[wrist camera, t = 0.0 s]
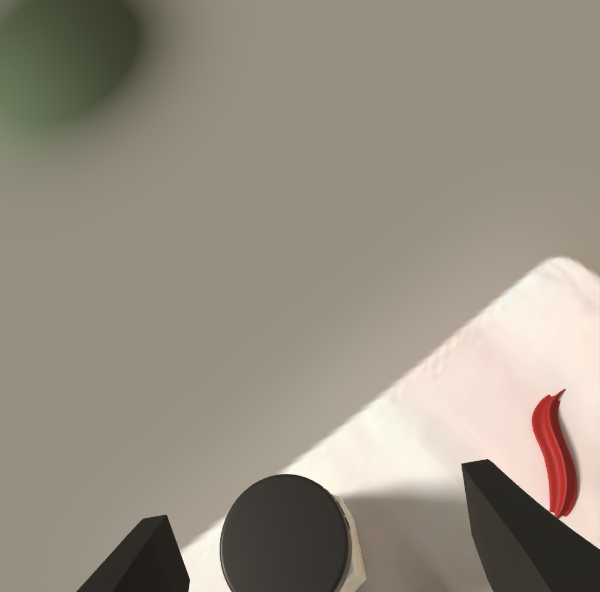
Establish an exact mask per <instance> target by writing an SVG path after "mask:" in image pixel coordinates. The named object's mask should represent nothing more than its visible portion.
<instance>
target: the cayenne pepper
mask: <svg viewBox="0 0 600 592" xmlns="http://www.w3.org/2000/svg"><path fill="white" fill-rule="evenodd" d="M564 390H565V389H564ZM564 390H562V391H561V392H559V393H558V394H556V395H555V396H553V397H551V396H550V395H547V396H546V397H545V398H543V399H542V400H541V401H540V402H539V404H538V405H537V407H536V408H535V410H534V412H533V416H532V426H533V431H534V434H535V437H536V439H537V442H538V444H539V446H540V448H541V451H542V453H543V456H544V459H545V463H546V468H547V473H548V479H549V491H550V512H554V513H555V517H556V518H558V517H560V516H561V515H563V516H565V517H566V516H568V515H569V513H570V512H571V510H572V508H573V506H574V503H575V500H576V495H577V479H576V472H575V468H574V464H573V461H572V458H571V455H570V453H569V450H568V448H567V445H566V443H565V440H564V438H563V435H562V432H561V429H560V425H559V421H558V408H559V404H560V401H558V400H557V399H558V397H559V396H560V394H561V393H562V392H563V391H564Z"/></svg>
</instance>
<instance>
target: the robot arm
mask: <svg viewBox="0 0 600 592" xmlns="http://www.w3.org/2000/svg"><path fill="white" fill-rule="evenodd" d="M461 465H462V472H463V479H464V485H465V492H466V498H467V505H468V512H469V518H470V525H471V532H472V536H473V539H474V542H475V545H476V548H477V551H478V553H479V556H480V559H481V562H482V565H483V568H484V570H485V573H486V576H487V579H488V581H489V583H490V585H491V587H492V589H493V592H600V549H598V548H597V547H596V546H594V545H593V544H591V543H590V542H589V541H587V540H586V539H584V538H583V537H582V536H580V535H579V534H577V533H576V532H575V531H573V530H572V529H571V528H569V527H568V526H567V525H565V524H564V523H563V522H561V521H560V520H559V519H558V518H556V517H555V516H554V515H553V514H551V513H550V512H549V511H548V510H546V509H545V508H544V507H543V506H541V505H540V504H539V503H538V502H536V501H535V500H534V499H533V498H532V497H530V496H529V495H528V494H527V493H526V492H525V491H524V490H522V489H521V488H520V487H519V486H518V485H517V484H515V483H514V482H513V481H512V480H511V479H510V478H509V477H508V476H507V475H506V474H504V473H503V472H502V471H501V470H500V469H499V468H498V467H497V466H496V465H495V464H494V463H493V462H491V461H490V460H488V459H486V460H480V461H474V462H468V463H463V464H461ZM189 583H190V579H189V576H188V573H187V570H186V567H185V565H184V562H183V559H182V556H181V553H180V551H179V548H178V545H177V542H176V540H175V537H174V534H173V531H172V529H171V525H170V523H169V520H168V517H167V515H162V516H156V517H150V518H145V519H142V520H141V521H140V523H138V524H137V526H136V527H135V528H134V529H133V530H132V531H131V532H130V533H129V534H128V535H127V536H126V537H125V539H124V540H123V541H122V542H121V543H120V544H119V545H118V546H117V548H116V549H115V550H114V551H113V552H112V553H111V554H110V555H109V556H108V558H107V559H106V560H105V561H104V562H103V563H102V564H101V565H100V566H99V568H98V569H97V570H96V571H95V572H94V573H93V574H92V575H91V576H90V578H89V579H88V580H87V581H86V582H85V583H84V584H83V585H82V586H81V587H80V588H79V590H78V591H77V592H188V591H189Z"/></svg>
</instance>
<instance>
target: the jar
mask: <svg viewBox="0 0 600 592" xmlns="http://www.w3.org/2000/svg"><path fill="white" fill-rule="evenodd" d="M220 561H221V567H222V571H223V575H224V577H225V580H226V582H227V584H228V586H229V588H230V590H231V591H232V592H355V591H356V590H357V589H358V588H359V587H360V586H361V585H362V584H363V583H364V582H365V581H366V573H365V568H364V563H363V559H362V554H361V549H360V544H359V540H358V535H357V530H356V526H355V521H354V518H353V516H352V515H351V513H350V512H349V510H348V508H347V507H346V505H345V503H344V502H343V500H342V499H341V498H340V497H338V496H335V495H332V494H330V493H329V492H328V490H326V489H324V488H323V486H321V485H320V484H318V483H316V482H314V481H312V480H310V479H308V478H306V477H302V476H299V475H293V474H280V475H274V476H270V477H267V478H265V479H262V480H260V481H258V482H256V483H255V484H253V485H252V486H250V487H249V488H248V489H246V491H244V492H243V493H242V494H241V495H240V497H239V498H238V499H237V500H236V501H235V503H234V504H233V506H232V507H231V509H230V511H229V513H228V515H227V517H226V519H225V522H224V525H223V528H222V532H221V538H220Z"/></svg>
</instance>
